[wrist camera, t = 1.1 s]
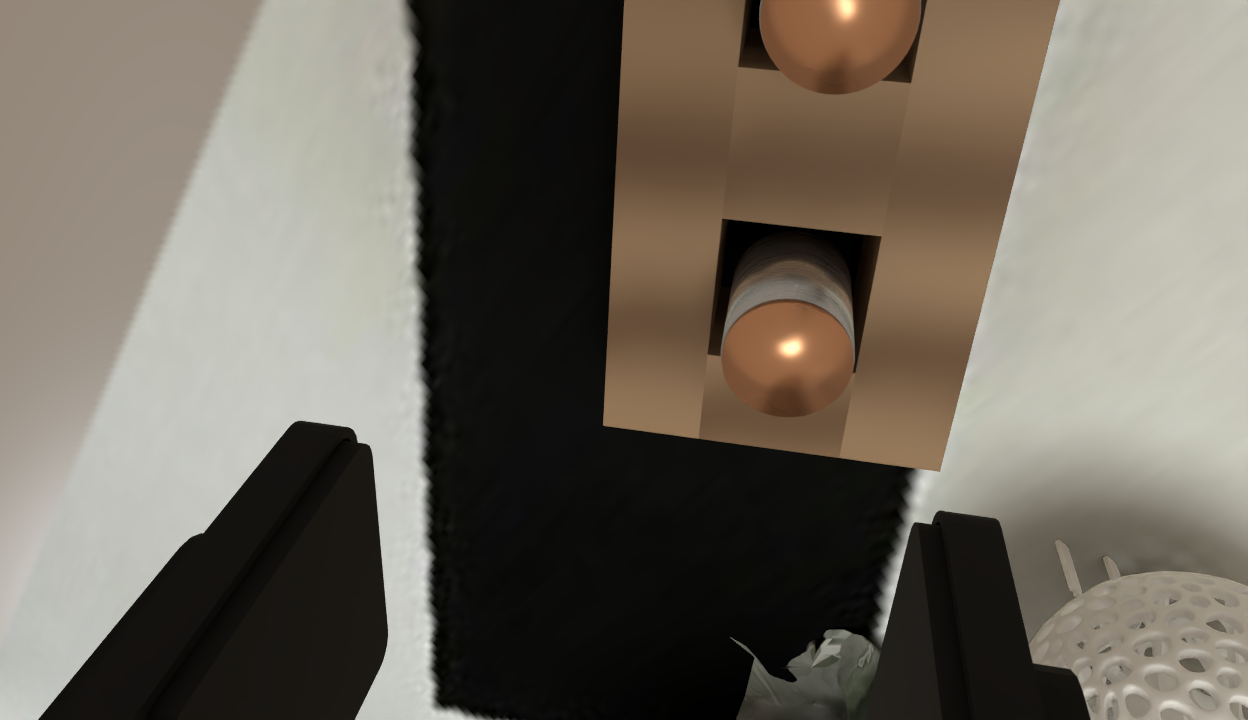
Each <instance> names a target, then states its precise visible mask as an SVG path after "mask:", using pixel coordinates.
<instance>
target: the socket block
mask: <svg viewBox="0 0 1248 720" xmlns="http://www.w3.org/2000/svg"><path fill="white" fill-rule="evenodd" d="M1059 1H1060V0H921V16H920V23H919V26H918V30H917V33H916V36H915V38H914V41H913V43H912V45H911V47H910V49H909V51H908V53H907V54H906V56H905V57H904V58H903V60H902V61H901V63H900V64H899V65H898V66H897V67H896V68H895V69H894V70H893V71H892V72H891V73H890V74H889V75H887V76H886V77H885V78H884V79H882V80H881V81H879V82H878V83H876V84H874V85H872V86H870V87H868V88H866V89H863V90H860V91H857V92H853V93H848V94H839V95H833V94H822V93H817V92H813V91H810V90H807V89H805V88H803V87H801V86H799V85H797V84H796V83H794V82H792V81H791V80H790V79H788V78H787V77H786V76H785V75H784V74H783V73H782V72H781V71H780V70H779V69H778V68H777V67H776V65H775V64H774V62H773V61H772V59H771V58H770V56H769V54H768V52H767V50H766V48H765V46H764V43H763V40H762V36H761V31H760V28H753V27H749V26H750V17H751V8H752V0H624V17H623V37H622V57H621V78H620V98H619V118H618V138H617V158H616V178H615V199H614V219H613V239H612V259H611V279H610V299H609V319H608V340H607V360H606V380H605V400H604V420H603V426H610V427H618V428H625V429H632V430H640V431H647V432H654V433H661V434H669V435H676V436H683V437H691V438H698V439H705V440H713V441H720V442H727V443H735V444H742V445H749V446H757V447H764V448H771V449H778V450H786V451H793V452H800V453H808V454H815V455H822V456H830V457H837V458H844V459H852V460H859V461H866V462H874V463H881V464H888V465H895V466H903V467H910V468H917V469H925V470H932V471H939V472H940V469H941V465H942V461H943V457H944V453H945V449H946V445H947V441H948V437H949V434H950V430H951V426H952V422H953V418H954V414H955V410H956V406H957V402H958V398H959V394H960V390H961V386H962V382H963V379H964V375H965V371H966V367H967V363H968V359H969V355H970V351H971V347H972V343H973V339H974V335H975V331H976V327H977V324H978V320H979V316H980V312H981V308H982V304H983V300H984V296H985V292H986V288H987V284H988V280H989V276H990V272H991V269H992V265H993V261H994V257H995V253H996V249H997V245H998V241H999V237H1000V233H1001V229H1002V225H1003V221H1004V217H1005V214H1006V210H1007V206H1008V202H1009V198H1010V194H1011V190H1012V186H1013V182H1014V178H1015V174H1016V170H1017V166H1018V162H1019V159H1020V155H1021V151H1022V147H1023V143H1024V139H1025V135H1026V131H1027V127H1028V123H1029V119H1030V115H1031V111H1032V107H1033V104H1034V100H1035V96H1036V92H1037V88H1038V84H1039V80H1040V76H1041V72H1042V68H1043V64H1044V60H1045V56H1046V52H1047V49H1048V45H1049V41H1050V37H1051V33H1052V29H1053V25H1054V21H1055V17H1056V13H1057V9H1058V5H1059ZM728 219H731V220H740V221H748V222H757V223H766V224H775V225H784V226H793V227H802V228H811V229H820V230H829V231H838V232H847V233H856V234H864V237H863V242H862V248H861V253H860V259H859V264H858V270H857V275H856V281H855V286H854V292H853V297H852V308H853V326H854V344H855V363H854V368H853V372H852V375H851V378H850V381H849V383H848V385H847V387H846V388H845V390H844V391H843V393H842V394H841V395H840V396H839V397H838V398H837V399H836V400H835V401H834V402H833V403H831V404H830V405H829V406H827V407H825V408H824V409H822V410H820V411H817V412H815V413H812V414H809V415H805V416H799V417H777V416H772V415H768V414H765V413H762V412H760V411H757V410H755V409H753V408H751V407H750V406H748V405H747V404H745V403H744V402H743V401H741V400H740V399H739V398H738V397H737V396H736V395H735V394H734V392H733V391H732V390H731V388H730V387H729V385H728V383H727V381H726V379H725V377H724V373H723V370H722V364H721V345H722V339H723V333H724V328H725V322H726V316H727V310H728V305H729V299H730V293H731V287H723V286H721V281H722V272H723V263H724V254H725V245H726V235H727V226H728Z"/></svg>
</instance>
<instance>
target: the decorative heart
mask: <svg viewBox="0 0 1248 720" xmlns="http://www.w3.org/2000/svg"><path fill="white" fill-rule="evenodd" d="M1055 545H1056V548H1057V551H1058V555H1059V558H1060V561H1061V565H1062V568H1063V571H1064V575H1065V578H1066V581H1067V585H1068V588H1069V590H1070V591H1071V592H1072V593H1073V596H1074V597H1076V598H1075V599H1073V600H1071V601H1069V602H1068V603H1066V604H1065V605H1064V606H1063V607H1062V608H1061V609H1060V610H1058V611H1057V612H1056V613H1055V614H1054V615H1053V616H1052V617H1051V618H1049V619H1048V620H1047V621H1046V622H1045V623H1044V624H1043V625H1042V626H1041V628H1040V629H1039V631H1038V632H1037V634H1036V635H1035V636H1034V638H1033V639H1032V641H1031V642H1030V643H1029V648H1030V653H1031V657H1032V661H1033V663H1035V664H1041V665H1047V666H1054V667H1060V668H1067V669H1071V670H1072V671H1073V673H1074V674H1075V675H1076V676H1077V678H1078V680H1079V683H1080V685H1081V688H1082V690H1083V694H1084V697H1085V701H1086V704H1087V708H1088V711H1089V715H1090V718H1091V720H1108V709H1109V707H1111V708H1112V711H1113V720H1246V719H1245V718H1244V716H1243V714H1242V705H1244V706H1245V707H1246V708H1248V586H1247V585H1244V584H1241V583H1238V582H1235V581H1233V580H1229V579H1225V578H1221V577H1216V576H1211V575H1206V574H1200V573H1191V572H1176V571H1159V572H1149V573H1141V574H1134V575H1128V576H1122V577H1121V576H1120V573H1119V570H1118V568H1117V565H1116V563H1115V562H1114V561H1112V560H1111V559H1110V558H1109V557H1108V556H1105V557H1103V561H1104V564H1105V567H1106V570H1107V572H1108V575H1109V578H1110V580H1108V581H1105V582H1103V583H1100V584H1098V585H1096V586H1094V587H1092V588H1091V589H1089V590H1088V591H1086V592H1085V593H1083V592H1082V589H1081V586H1080V583H1079V580H1078V577H1077V573H1076V570H1075V567H1074V564H1073V561H1072V557H1071V554H1070V551H1069V548H1068V546H1066V545H1065V544H1064V543H1063V542H1061V541H1060V540H1059V539H1058V540H1056V541H1055ZM1214 598H1216V599H1220V600H1223V601H1225V605H1222V604H1220V603H1218V602H1217V601H1216V600H1215V599H1214ZM1170 599H1172V600H1176V601H1177V602H1175V603H1173V604H1170V605H1169V601H1170ZM1214 620H1219V621H1220V622H1221V623H1222V624H1223V626H1224V627H1225V629H1226V633H1224V632H1220V631H1217V630H1215V629H1213V628H1211V627H1209V626H1208V625H1207V623H1208V622H1211V621H1214ZM1142 622H1143V623H1144V625H1145V628H1142V629H1140V626H1141V623H1142ZM1098 625H1099V627H1100V628H1098V629H1095V627H1097V626H1098ZM1075 626H1076V627H1075ZM1074 627H1075V628H1074ZM1184 638H1185V639H1186V640H1187V642H1188V643H1187V642H1184V641H1183V640H1182V639H1184ZM1080 642H1083V644H1084V647H1083V649H1082V648H1080V647H1079V646H1078V645H1077V644H1078V643H1080ZM1108 647H1111V648H1110V651H1109V652H1106V653H1100V652H1101V651H1103V650H1104V649H1106V648H1108ZM1147 648H1152V652H1153V657H1147V656H1144V652H1145V650H1146V649H1147ZM1074 653H1075V654H1074ZM1185 658H1195V659H1198V660H1199V661H1200V663H1201V665H1202V666H1203V668H1204V670H1205V671H1204V672H1199V673H1197V672H1192V671H1189V670H1187V669H1185V668H1184V667H1183V666H1182V665H1181V664H1180V662H1179V661H1180V660H1182V659H1185ZM1225 658H1228V660H1227V659H1225ZM1119 665H1121V667H1122V669H1123V671H1122V670H1121V669H1120V667H1119ZM1090 666H1091V667H1093V668H1092V670H1091V669H1090ZM1107 679H1108V680H1109V681H1111V682H1112V684H1110V685H1107V684H1106V681H1107ZM1197 688H1198V689H1203V690H1205V691H1207V692H1208V693H1209V694H1210V695H1208V694H1204V693H1202V692H1201V691H1199V690H1198V689H1197ZM1093 696H1096V701H1095V707H1094V710H1093V711H1092V709H1091V708H1090V707H1089V704H1088V702H1087V701H1088V699H1089V698H1091V697H1093Z"/></svg>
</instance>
